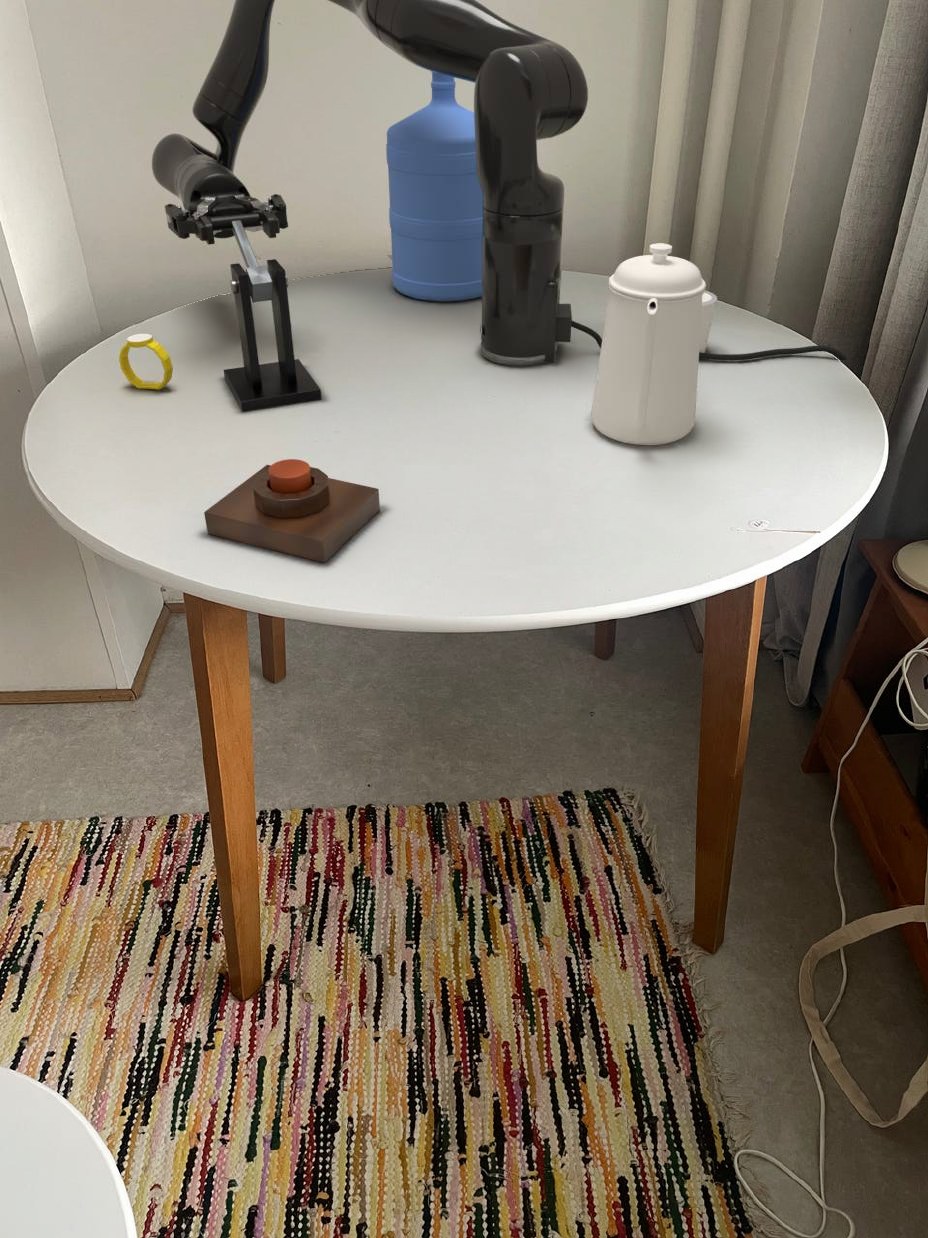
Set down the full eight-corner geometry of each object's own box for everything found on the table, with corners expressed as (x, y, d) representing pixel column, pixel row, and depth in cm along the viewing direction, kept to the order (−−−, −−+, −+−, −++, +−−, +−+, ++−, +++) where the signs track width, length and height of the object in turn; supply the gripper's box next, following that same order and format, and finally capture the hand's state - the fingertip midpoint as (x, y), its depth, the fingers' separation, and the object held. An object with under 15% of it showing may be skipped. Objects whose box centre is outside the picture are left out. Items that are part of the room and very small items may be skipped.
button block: (380, 509, 92) (377, 470, 90) (324, 563, 84) (320, 522, 82) (269, 484, 96) (264, 446, 94) (207, 533, 88) (200, 493, 86)
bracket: (224, 379, 117) (206, 258, 109) (299, 368, 120) (287, 250, 112) (242, 411, 110) (224, 285, 102) (321, 399, 112) (310, 275, 104)
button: (319, 481, 89) (317, 463, 88) (297, 499, 86) (295, 480, 85) (284, 473, 90) (282, 455, 89) (262, 491, 87) (260, 473, 86)
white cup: (675, 338, 128) (681, 282, 124) (720, 351, 124) (729, 295, 120) (642, 352, 124) (648, 295, 120) (688, 366, 120) (695, 308, 116)
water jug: (472, 309, 137) (472, 79, 120) (372, 294, 142) (359, 72, 126) (516, 278, 148) (522, 63, 132) (422, 265, 154) (417, 57, 137)
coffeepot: (577, 477, 97) (590, 282, 86) (600, 379, 117) (614, 210, 106) (691, 488, 95) (719, 289, 84) (695, 386, 115) (718, 215, 104)
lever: (210, 229, 114) (208, 210, 112) (258, 224, 115) (257, 206, 113) (237, 304, 107) (236, 285, 105) (287, 298, 109) (287, 279, 107)
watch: (180, 385, 116) (171, 335, 112) (167, 395, 113) (158, 344, 110) (134, 380, 117) (124, 330, 113) (121, 389, 115) (110, 338, 111)
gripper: (149, 170, 119) (170, 201, 106) (268, 160, 123) (302, 189, 111) (160, 235, 123) (181, 273, 111) (275, 224, 128) (308, 259, 115)
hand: (241, 231), depth 111 cm, fingers open, 6 cm apart
